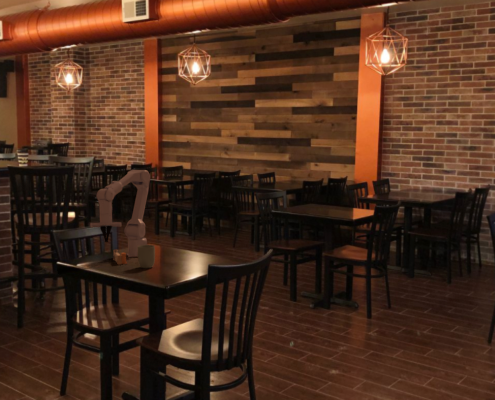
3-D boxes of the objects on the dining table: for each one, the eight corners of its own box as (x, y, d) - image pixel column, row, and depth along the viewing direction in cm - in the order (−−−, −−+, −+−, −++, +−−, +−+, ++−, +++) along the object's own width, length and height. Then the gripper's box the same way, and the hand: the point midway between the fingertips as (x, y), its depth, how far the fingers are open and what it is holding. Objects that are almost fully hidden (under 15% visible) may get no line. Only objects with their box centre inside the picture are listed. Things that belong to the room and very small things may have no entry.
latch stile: (125, 262, 284) (125, 252, 283) (127, 263, 281) (126, 253, 281) (120, 262, 283) (120, 252, 283) (121, 264, 280) (121, 253, 280)
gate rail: (114, 260, 289) (114, 252, 289) (118, 260, 290) (118, 251, 290) (117, 264, 279) (117, 255, 279) (121, 264, 280) (121, 255, 279)
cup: (158, 266, 274) (157, 245, 273) (150, 269, 266) (149, 247, 266) (143, 265, 276) (142, 244, 275) (134, 268, 269) (134, 247, 268)
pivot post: (118, 259, 293) (118, 249, 292) (119, 260, 290) (119, 250, 290) (112, 259, 292) (112, 249, 291) (113, 260, 289) (113, 250, 289)
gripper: (89, 215, 278) (90, 243, 279) (121, 214, 281) (121, 242, 282) (90, 213, 285) (91, 241, 286) (121, 212, 288) (121, 240, 289)
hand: (106, 241), depth 285 cm, fingers closed
